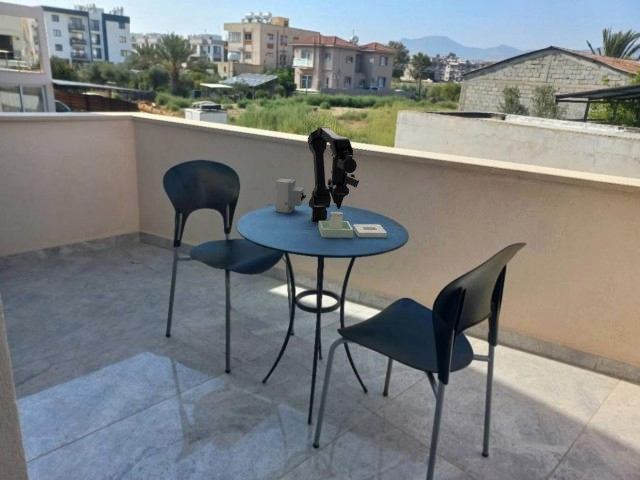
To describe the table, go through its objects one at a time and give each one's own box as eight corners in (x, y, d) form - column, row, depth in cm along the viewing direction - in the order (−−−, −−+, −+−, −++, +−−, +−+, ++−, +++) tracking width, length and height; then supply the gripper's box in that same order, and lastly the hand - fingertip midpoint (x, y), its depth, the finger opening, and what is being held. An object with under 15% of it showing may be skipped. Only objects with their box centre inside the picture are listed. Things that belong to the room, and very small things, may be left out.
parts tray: (322, 237, 182) (322, 229, 181) (318, 227, 194) (318, 220, 193) (352, 237, 184) (353, 230, 182) (347, 228, 196) (347, 221, 195)
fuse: (329, 231, 187) (330, 213, 184) (328, 229, 190) (329, 211, 187) (341, 231, 188) (342, 213, 185) (340, 229, 190) (341, 211, 188)
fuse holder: (358, 237, 184) (358, 232, 184) (353, 228, 196) (353, 224, 195) (386, 237, 186) (386, 232, 185) (379, 228, 197) (379, 224, 196)
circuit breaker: (303, 214, 215) (304, 183, 210) (274, 211, 217) (275, 181, 212) (306, 210, 222) (307, 180, 217) (279, 207, 224) (279, 178, 219)
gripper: (363, 173, 172) (360, 212, 177) (354, 165, 190) (351, 201, 195) (335, 172, 171) (332, 211, 176) (328, 165, 188) (326, 200, 193)
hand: (336, 206), depth 185 cm, fingers open, 9 cm apart
